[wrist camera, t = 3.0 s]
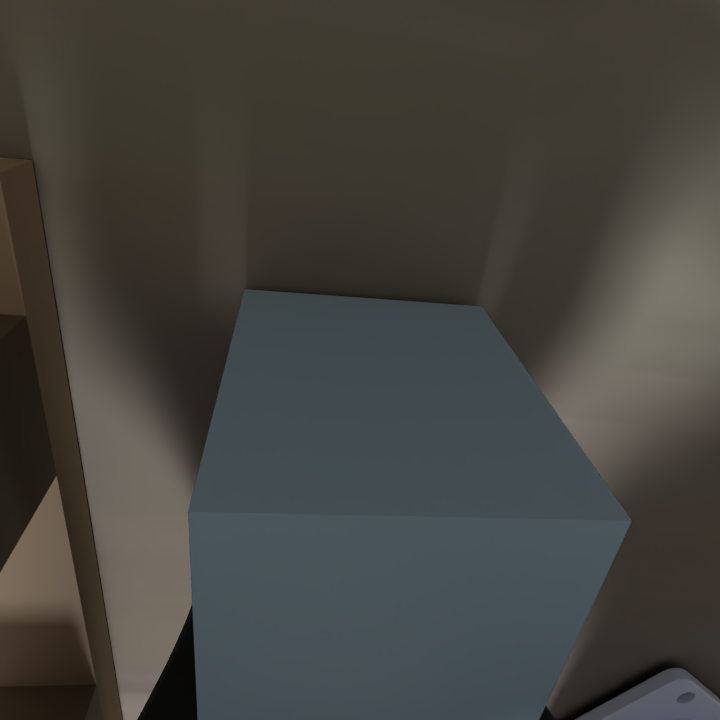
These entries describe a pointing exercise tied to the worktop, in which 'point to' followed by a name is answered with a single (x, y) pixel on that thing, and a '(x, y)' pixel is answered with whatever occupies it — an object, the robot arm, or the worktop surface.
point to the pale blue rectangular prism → (387, 519)
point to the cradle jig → (43, 494)
